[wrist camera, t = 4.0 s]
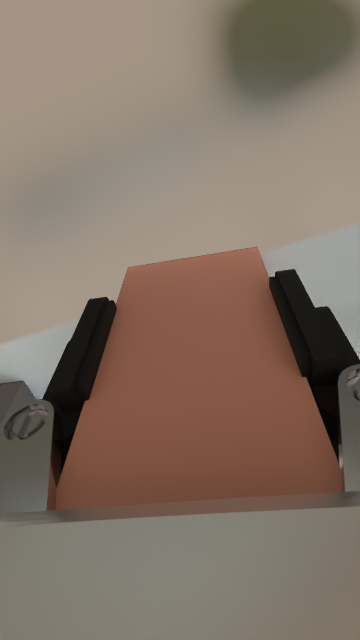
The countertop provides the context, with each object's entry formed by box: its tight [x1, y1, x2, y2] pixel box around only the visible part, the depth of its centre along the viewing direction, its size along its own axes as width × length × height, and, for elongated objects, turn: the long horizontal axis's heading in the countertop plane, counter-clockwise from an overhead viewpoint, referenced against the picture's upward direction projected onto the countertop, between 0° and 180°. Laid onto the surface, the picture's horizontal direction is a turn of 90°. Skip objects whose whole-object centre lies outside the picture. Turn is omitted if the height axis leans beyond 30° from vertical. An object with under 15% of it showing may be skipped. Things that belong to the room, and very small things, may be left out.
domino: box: [55, 247, 342, 510], centre depth 9 cm, size 5×2×10 cm, turn 101°
